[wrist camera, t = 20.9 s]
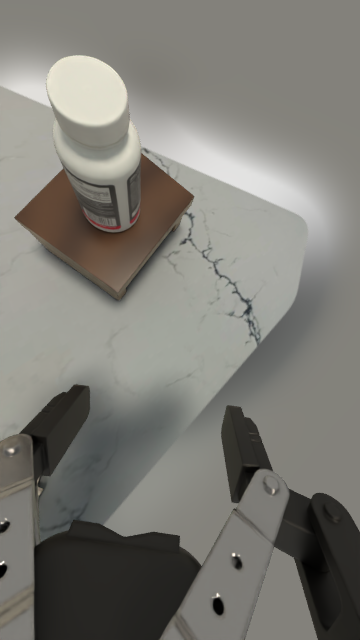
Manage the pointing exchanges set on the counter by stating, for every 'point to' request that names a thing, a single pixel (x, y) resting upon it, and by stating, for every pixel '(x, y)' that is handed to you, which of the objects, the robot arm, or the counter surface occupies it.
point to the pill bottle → (96, 140)
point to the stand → (101, 246)
